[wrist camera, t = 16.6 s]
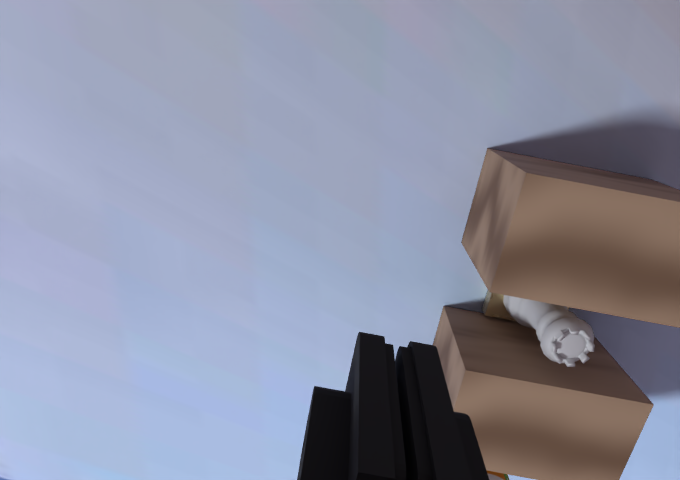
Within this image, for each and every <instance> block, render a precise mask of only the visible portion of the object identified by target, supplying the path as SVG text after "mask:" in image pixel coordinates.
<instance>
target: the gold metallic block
mask: <svg viewBox="0 0 680 480" xmlns="http://www.w3.org/2000/svg"><path fill="white" fill-rule="evenodd" d="M503 299H504V295H502V294H496V293H491V292H489V290H488V291H487V295H486V298H485V301H484V304H483V308H482V311H483V313H484V315H485V316H491V317H496V318H502V319H507V320H512V321H516V320H515V319H514V318H512V317H511V315H510V314H509V313H508V312H507V310H506V307H505V305H504V302H503ZM567 309H569V307H567Z"/></svg>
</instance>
